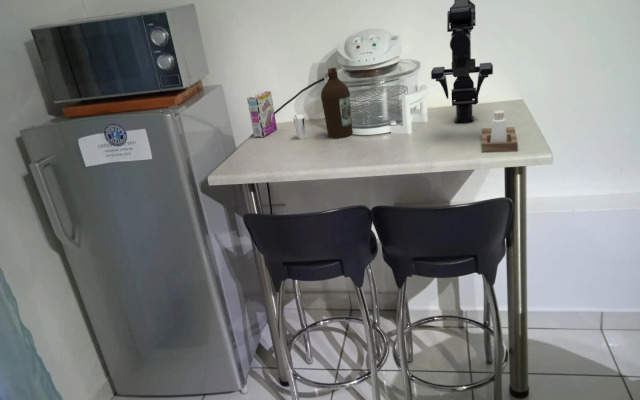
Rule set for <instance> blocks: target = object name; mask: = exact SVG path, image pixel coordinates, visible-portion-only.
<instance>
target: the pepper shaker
mask: <svg viewBox="0 0 640 400" xmlns="http://www.w3.org/2000/svg"><path fill="white" fill-rule="evenodd" d="M493 114H494V116H493V119H492V124H491V128H492V132H491V141H490V143H492V142H507V134H506V127H507V125H506V119H505V118H504V116H505V115H504V114H505V111H504V110H501V109H499V110H495V111H494V112H493Z"/></svg>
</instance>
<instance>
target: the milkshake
mask: <svg viewBox="0 0 640 400" xmlns="http://www.w3.org/2000/svg"><path fill="white" fill-rule="evenodd" d="M292 120H293V123H294V127H295V130H296V135H297V139H298V140H304V139H307V126H306V116H305V115H304V114H300V113H299V114H295V115H294V116H293V118H292Z"/></svg>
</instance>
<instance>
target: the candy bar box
mask: <svg viewBox="0 0 640 400" xmlns="http://www.w3.org/2000/svg"><path fill="white" fill-rule="evenodd" d="M246 100H247V105H248V110H249V115H250V119H251V120H250V121H251V127H252V131H253V132H252V133H253V137H254V138H260V139H263V138H265V137H267V136H268V135H270V134H272V133H274V132H275V131H277V129H278V127H277V121H276V115H275V109H274V102H273V97H272V91H267V90H266V91H260V92H258V93H255V94H253V95H251V96H248V97H247V98H246Z"/></svg>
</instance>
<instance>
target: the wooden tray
mask: <svg viewBox="0 0 640 400" xmlns="http://www.w3.org/2000/svg"><path fill="white" fill-rule="evenodd" d="M491 132H492V127H487V128H481V153H501V152H505V153H506V152H518V147H519V146H518V144H519V143H518V138H517V134H516V129H515V126H508V127H507V126H506V134H507V142H492V143H490V141H491Z"/></svg>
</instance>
